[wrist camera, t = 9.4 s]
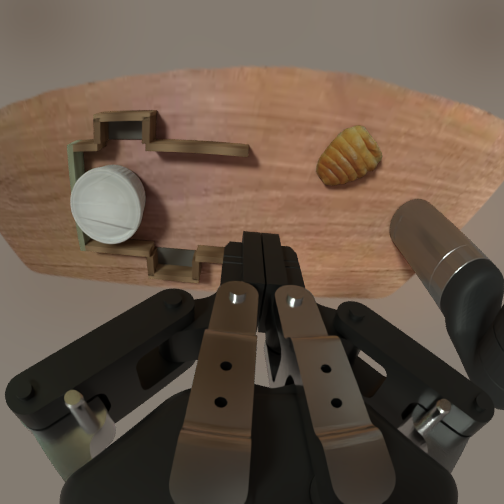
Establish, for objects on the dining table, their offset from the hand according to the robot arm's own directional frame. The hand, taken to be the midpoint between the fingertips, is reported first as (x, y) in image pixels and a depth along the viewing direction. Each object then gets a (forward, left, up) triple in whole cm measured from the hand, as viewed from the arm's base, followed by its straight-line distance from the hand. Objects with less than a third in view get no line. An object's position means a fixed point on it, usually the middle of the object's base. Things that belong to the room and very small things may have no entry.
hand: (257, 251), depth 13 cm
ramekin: (+19, +10, -29) cm, 36 cm away
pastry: (-14, +1, -30) cm, 33 cm away
